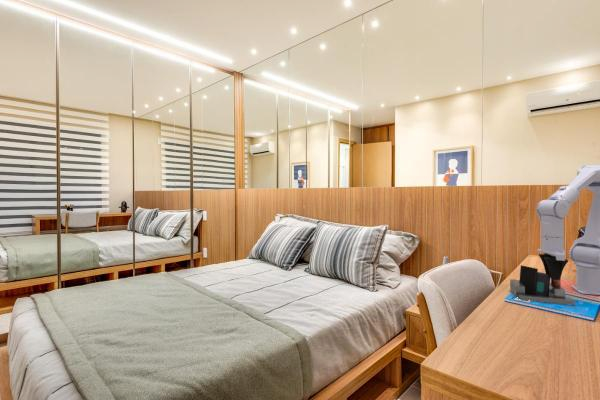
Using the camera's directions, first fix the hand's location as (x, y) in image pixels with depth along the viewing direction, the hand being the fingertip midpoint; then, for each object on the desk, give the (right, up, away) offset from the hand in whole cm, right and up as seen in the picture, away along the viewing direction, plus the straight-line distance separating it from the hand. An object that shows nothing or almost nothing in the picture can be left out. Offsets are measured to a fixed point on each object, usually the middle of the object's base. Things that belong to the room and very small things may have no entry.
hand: (553, 277), depth 99 cm
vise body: (-3, -7, +1) cm, 7 cm away
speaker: (-4, -7, +2) cm, 9 cm away
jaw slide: (+1, -7, 0) cm, 7 cm away
